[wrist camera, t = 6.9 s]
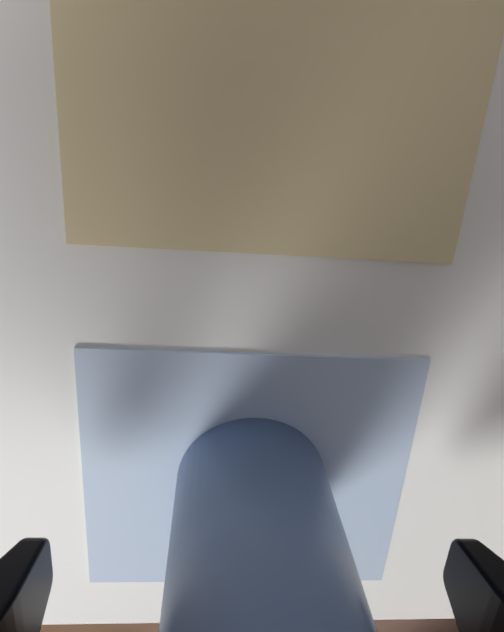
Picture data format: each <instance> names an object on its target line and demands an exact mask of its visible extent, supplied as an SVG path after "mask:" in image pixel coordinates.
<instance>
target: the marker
mask: <svg viewBox="0 0 504 632" xmlns="http://www.w3.org/2000/svg"><path fill="white" fill-rule="evenodd" d="M159 632H377V629H376V626H375V623H374V620H373V617H372V614H371V611H370V608H369V605H368V601H367V598H366V595H365V592H364V589H363V586H362V583H361V580H360V577H359V574H358V571H357V568H356V564H355V561H354V558H353V555H352V552H351V549H350V546H349V543H348V540H347V537H346V534H345V531H344V528H343V524H342V521H341V518H340V515H339V512H338V509H337V506H336V503H335V500H334V497H333V494H332V491H331V487H330V484H329V481H328V478H327V475H326V472H325V469H324V466H323V463H322V460H321V457H320V455H319V453H318V451H317V449H316V447H315V446H314V444H313V443H312V442H311V441H310V440H309V439H308V438H307V437H306V436H305V435H304V434H303V433H302V432H300V431H299V430H297V429H295V428H294V427H292V426H290V425H288V424H285V423H282V422H279V421H276V420H271V419H266V418H243V419H236V420H232V421H229V422H225V423H223V424H220V425H218V426H216V427H214V428H212V429H210V430H208V431H207V432H205V433H204V434H202V435H201V436H200V437H199V438H198V439H196V440H195V441H194V442H193V443H192V445H191V446H190V447H189V448H188V449H187V451H186V453H185V454H184V456H183V458H182V460H181V462H180V465H179V469H178V473H177V481H176V489H175V498H174V506H173V515H172V523H171V531H170V540H169V548H168V557H167V565H166V574H165V582H164V590H163V599H162V607H161V616H160V624H159Z"/></svg>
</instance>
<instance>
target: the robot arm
mask: <svg viewBox="0 0 504 632" xmlns="http://www.w3.org/2000/svg"><path fill="white" fill-rule="evenodd" d="M52 581H53V568H52V558H51V548H50V542H49V540H48V539H47V538H31V537H28V538H23V539H22V540H20V541H19V542H18V543H17V544H16V545H14V546H13V547H12V548H11V549H10V550H9V551H8V552H7V553H6V554H5V555H3V556H2V557H1V558H0V632H40V629H41V625H42V622H43V618H44V614H45V610H46V606H47V602H48V599H49V595H50V591H51V587H52ZM443 581H444V586H445V589H446V592H447V595H448V598H449V602H450V605H451V608H452V611H453V614H454V617H455V621H456V624H457V627H458V630H459V632H504V560H503V559H502V558H501V557H499V556H498V555H497V554H495V553H494V552H493V551H492V550H490V549H489V548H488V547H486V546H485V545H484V544H483V543H481V542H480V541H478V540H476V539H466V538H457V539H454V540H453V541H452V543H451V545H450V549H449V552H448V556H447V559H446V563H445V566H444V570H443Z"/></svg>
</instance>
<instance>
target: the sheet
mask: <svg viewBox="0 0 504 632" xmlns="http://www.w3.org/2000/svg"><path fill="white" fill-rule="evenodd" d="M243 418H266V419H271V420H276V421H279V422H282V423H285V424H288V425H290V426H292V427H294V428H295V429H297V430H299V431H300V432H302V433H303V434H304V435H305V436H306V437H307V438H308V439H309V440H310V441H311V442H312V443H313V444H314V446H315V447H316V449H317V451H318V453H319V455H320V457H321V460H322V463H323V466H324V469H325V472H326V475H327V478H328V481H329V484H330V487H331V491H332V494H333V497H334V500H335V503H336V506H337V509H338V512H339V515H340V518H341V521H342V524H343V528H344V531H345V534H346V537H347V540H348V543H349V546H350V549H351V552H352V555H353V558H354V561H355V564H356V568H357V571H358V574H359V577H360V580H361V583H362V586H363V589H364V592H365V595H366V598H367V601H368V605H369V608H370V611H371V614H372V617H373V620H386V619H454V618H455V617H454V614H453V611H452V608H451V605H450V602H449V598H448V595H447V592H446V589H445V586H444V581H443V570H444V566H445V563H446V559H447V556H448V552H449V549H450V545H451V543H452V541H453V540H454V539H457V538H466V539H476V540H478V541H480V542H481V543H483V544H484V545H485V546H486V547H488V548H489V549H490V550H492V551H493V552H494V553H495V554H497V555H498V556H499V557H501V558H502V559H503V560H504V0H0V558H1V557H2V556H3V555H5V554H6V553H7V552H8V551H9V550H10V549H11V548H12V547H13V546H14V545H16V544H17V543H18V542H19V541H20V540H22V539H23V538H28V537H31V538H47V539H48V540H49V542H50V548H51V558H52V568H53V581H52V587H51V591H50V595H49V599H48V602H47V606H46V610H45V614H44V618H43V622H42V625H45V624H114V623H160V616H161V607H162V599H163V590H164V582H165V574H166V565H167V557H168V548H169V540H170V531H171V523H172V515H173V506H174V498H175V489H176V481H177V473H178V469H179V465H180V462H181V460H182V458H183V456H184V454H185V453H186V451H187V449H188V448H189V447H190V446H191V445H192V443H193V442H194V441H195V440H196V439H198V438H199V437H200V436H201V435H202V434H204V433H205V432H207V431H208V430H210V429H212V428H214V427H216V426H218V425H220V424H223V423H225V422H229V421H232V420H236V419H243Z"/></svg>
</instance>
